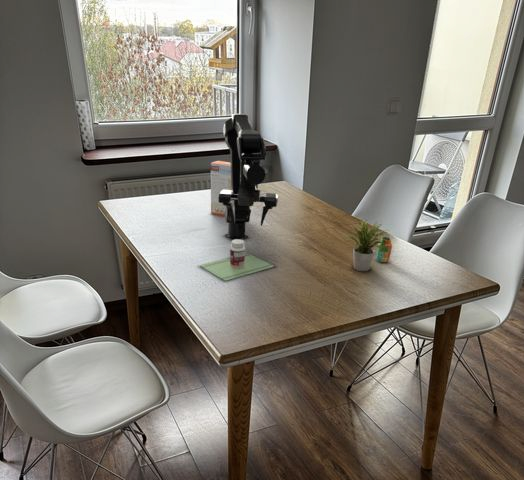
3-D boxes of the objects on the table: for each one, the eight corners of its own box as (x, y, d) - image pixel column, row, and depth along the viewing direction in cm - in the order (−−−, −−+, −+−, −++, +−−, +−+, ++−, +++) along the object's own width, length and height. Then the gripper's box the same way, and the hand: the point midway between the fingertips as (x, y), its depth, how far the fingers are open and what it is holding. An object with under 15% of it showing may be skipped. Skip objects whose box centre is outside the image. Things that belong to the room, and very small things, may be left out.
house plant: (373, 282, 164) (381, 232, 155) (333, 271, 170) (339, 222, 161) (388, 268, 174) (397, 220, 166) (351, 258, 180) (357, 212, 172)
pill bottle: (229, 262, 171) (230, 238, 167) (244, 263, 172) (244, 238, 167) (230, 268, 167) (230, 243, 163) (244, 268, 168) (245, 244, 163)
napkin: (199, 266, 169) (199, 265, 168) (248, 254, 180) (248, 253, 179) (225, 281, 160) (225, 280, 159) (274, 267, 171) (274, 266, 170)
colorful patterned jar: (390, 259, 180) (394, 237, 176) (388, 264, 177) (392, 241, 172) (376, 257, 182) (380, 235, 177) (374, 261, 178) (378, 239, 174)
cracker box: (246, 217, 215) (247, 165, 204) (237, 220, 211) (238, 167, 200) (219, 210, 221) (219, 159, 210) (210, 213, 217) (209, 161, 206)
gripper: (215, 180, 156) (215, 230, 165) (276, 184, 155) (273, 234, 163) (221, 171, 165) (221, 219, 174) (279, 175, 164) (276, 223, 173)
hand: (247, 224), depth 171 cm, fingers open, 9 cm apart
